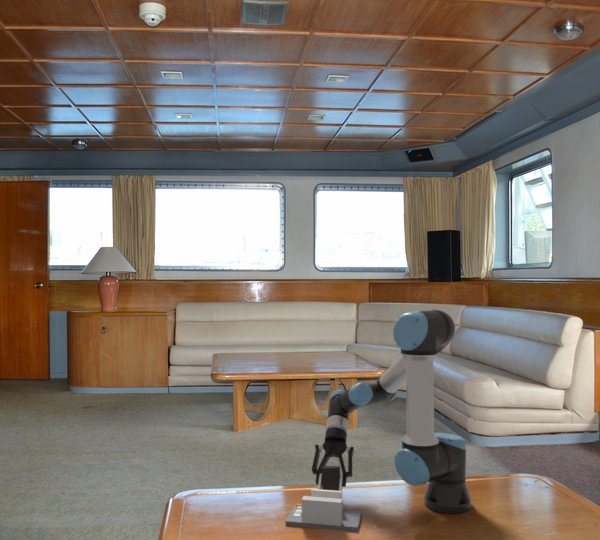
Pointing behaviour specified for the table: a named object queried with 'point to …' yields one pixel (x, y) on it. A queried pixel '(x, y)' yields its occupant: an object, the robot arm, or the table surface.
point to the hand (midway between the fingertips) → (329, 494)
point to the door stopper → (330, 478)
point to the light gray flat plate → (324, 494)
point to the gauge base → (346, 518)
